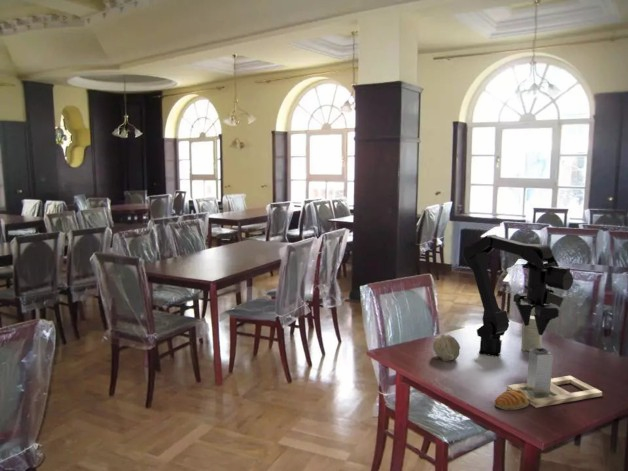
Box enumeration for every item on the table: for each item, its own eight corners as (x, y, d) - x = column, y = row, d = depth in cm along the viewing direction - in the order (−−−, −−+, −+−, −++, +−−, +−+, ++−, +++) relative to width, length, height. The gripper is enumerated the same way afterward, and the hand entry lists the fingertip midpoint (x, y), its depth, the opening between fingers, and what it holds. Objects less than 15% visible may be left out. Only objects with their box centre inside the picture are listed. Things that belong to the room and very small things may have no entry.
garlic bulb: (457, 368, 175) (467, 345, 171) (434, 365, 174) (444, 342, 170) (448, 350, 184) (458, 328, 180) (426, 347, 182) (435, 325, 178)
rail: (535, 407, 143) (536, 403, 143) (506, 389, 154) (507, 385, 154) (602, 395, 151) (602, 391, 151) (569, 379, 162) (570, 375, 162)
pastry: (507, 414, 139) (508, 401, 139) (487, 404, 145) (488, 391, 145) (530, 407, 144) (531, 394, 143) (511, 397, 150) (511, 385, 149)
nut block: (526, 390, 153) (529, 347, 151) (541, 390, 153) (544, 346, 151) (534, 398, 148) (537, 352, 146) (549, 397, 149) (553, 352, 147)
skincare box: (541, 349, 187) (543, 317, 185) (539, 353, 183) (541, 320, 182) (522, 346, 190) (525, 314, 189) (520, 349, 187) (522, 317, 185)
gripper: (577, 290, 158) (573, 339, 160) (545, 276, 176) (542, 320, 178) (542, 291, 157) (538, 340, 159) (514, 277, 175) (511, 321, 177)
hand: (533, 330), depth 169 cm, fingers open, 9 cm apart
